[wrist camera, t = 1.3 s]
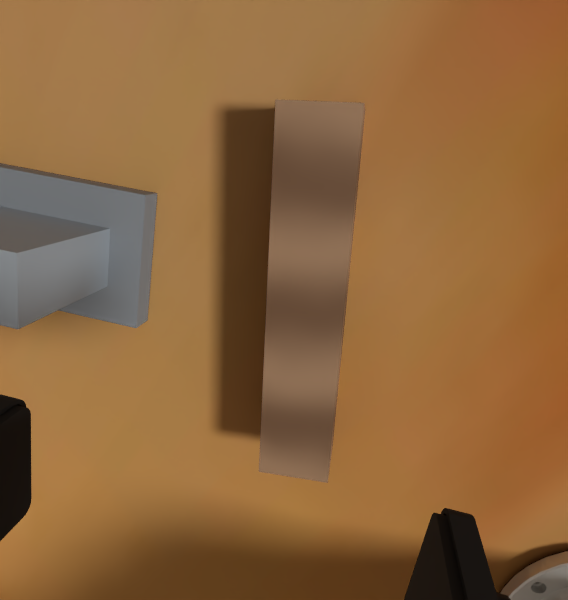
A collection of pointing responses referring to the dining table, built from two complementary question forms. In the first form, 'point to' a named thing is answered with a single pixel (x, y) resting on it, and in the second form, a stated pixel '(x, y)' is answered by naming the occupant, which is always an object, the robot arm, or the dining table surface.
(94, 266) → the ridge
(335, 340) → the rod
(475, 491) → the dining table surface
